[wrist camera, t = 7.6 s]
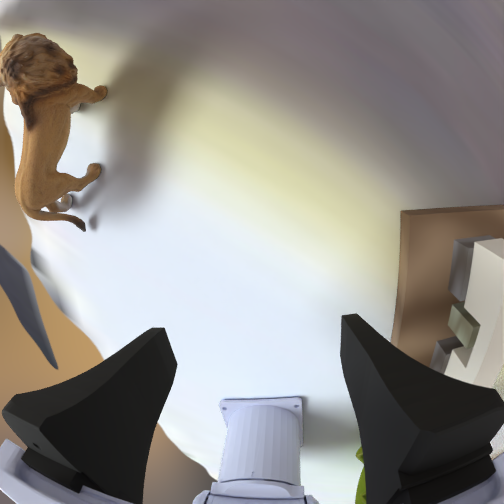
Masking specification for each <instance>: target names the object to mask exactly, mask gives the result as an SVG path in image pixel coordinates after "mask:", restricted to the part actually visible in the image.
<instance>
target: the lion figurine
mask: <svg viewBox="0 0 504 504" xmlns="http://www.w3.org/2000/svg"><path fill="white" fill-rule="evenodd" d="M77 70H78V69H77V68H76V66H75V65H73V58H72V57H71V56H70V55H68V54H67V53H66V52H65V51H64V50H63V49H62V48H60V47H59V45H58V44H57V43H55V42H52V41H51V40H49V39H47V38H46V36H45V35H42V34H40V33H34V34H30V35H26V36H23V35H19V34H16V35H14V36H13V37H12V40H11V41H9V42H8V43H7V44H6V46H5V48H4V49H3V50H2V52H1V53H0V87H1V86H5V87H6V89H7V90H8V91H9V92H10V95H11V97H12V102H13V103H14V104H16V105H19V107H20V109H21V114H22V116H23V117H24V134H23V149H22V156H21V162H20V165H19V169H18V172H17V175H16V179H15V194H16V197H17V200H18V202H19V204H20V205H21V208H22V210H23V211H24V212H25V213H26V214H27V215H28V216H29V217H31V218H33V219H36V220H41V221H58V220H65V221H69V222H72V223H74V224H75V225H76V226H77V227H78V228H80V229H81V230H82V231H83V232H85V231H86V228H85V223H84V222H83V221H82V220H81V219H79V218H78V217H76V216H72V215H68V214H61V213H58V212H66V211H67V210H69V209H70V208H71V205H72V197H71V196H70V195H69V194H66V193H68V192H70V191H76V192H79V191H81V190H82V189H83V188H84V187H86V186H87V185H88V184H89V183H91V182H92V181H94V180H95V179H96V178H97V177H98V176H99V174H100V172H101V167H100V165H99V164H97V163H92V164H90V165H89V166H88V168H87V173H86V175H85V176H84V177H82V178H75V177H73V176H71V175H69V174H67V173H59V172H58V171H57V170H56V168H57V163H58V162H59V160H60V158H61V156H62V154H63V152H64V150H65V147H66V145H67V142H68V137H69V133H70V123H71V114H73V113H74V112H76V111H78V109H79V107H80V103H91V104H93V103H95V102H98V101H101V100H102V99H103V98H104V97H105V96H106V94H107V89H106V87H104V86H101V85H100V86H97V87H95V89H94V91H93V90H92V89H90V88H88V87H87V86H85V85H82V84H78V83H77V79H78V78H77V74H78V73H77ZM63 195H64V196H63ZM61 197H62V199H61V203H60V202H58V201H57V200H58V199H59V198H61ZM43 207H47V208H48V210H49V211H50V212H46V211H40V210H41V208H43Z"/></svg>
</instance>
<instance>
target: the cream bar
mask: <svg viewBox="0 0 504 504" xmlns="http://www.w3.org/2000/svg"><path fill="white" fill-rule="evenodd" d="M464 308H465V309H466V310H467V311H468V312H469V313H470V314H471V315H472V316H473V317H474V318H475V319H476V320H477V321H478V323H479V324H480V325H481V326H480V329H479V332H478V335H477V339H476V342H475V345H474V347H472V348H469V349H466V348H465V347H464V346H462V347H459V348H456V349H453V350H452V353H451V356H450V359H449V362H448V365H447V368H446V371H445V373H444V375H447V376H449V377H452V378H454V379H457V380H460V381H464V382H467V383H470V384H474V385H478V386H483V387H488V388H492V387H493V385H494V383H495V381H496V379H497V377H498V375H499V373H500V371H501V369H502V366H503V364H504V239H502V238H499V239H491V240H484V241H477V242H474V251H473V259H472V266H471V273H470V279H469V284H468V290H467V295H466V300H465V304H464Z"/></svg>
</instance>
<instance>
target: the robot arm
mask: <svg viewBox="0 0 504 504" xmlns="http://www.w3.org/2000/svg"><path fill="white" fill-rule="evenodd" d="M340 357H341V363H342V369H343V374H344V378H345V382H346V385H347V388H348V391H349V395H350V398H351V401H352V404H353V408H354V411H355V414H356V418H357V422H358V426H359V431H360V438H361V445H362V452H363V461H364V470H365V483H366V504H504V452H503V453H502V454H500V455H499V456H497V457H496V458H495V459H493V460H491V457H490V455H489V454H491V453H492V451H493V449H492V446H491V444H490V441H491V440H492V439H493V437H494V436H495V435H496V433H497V432H498V431H499V429H500V428H501V427H502V425H503V423H504V402H503V400H502V398H501V397H500V395H499V394H498V392H497V391H496V390H495V389H492V388H488V387H483V386H478V385H474V384H470V383H467V382H464V381H460V380H457V379H454V378H452V377H449V376H447V375H444V374H442V373H440V372H438V371H435V370H433V369H431V368H429V367H427V366H425V365H423V364H422V363H420V362H418V361H416V360H415V359H413V358H411V357H410V356H408V355H407V354H405V353H404V352H402V351H401V350H400V349H398V348H397V347H395V346H394V345H393V344H391V343H390V342H389V341H388V340H386V339H385V338H384V337H383V336H381V335H380V334H379V333H378V332H377V331H376V330H375V329H373V328H372V327H371V326H370V325H369V324H368V323H367V322H366V321H365V320H363V319H362V318H361V317H360V316H359V315H358V314H349V315H342V322H341V349H340ZM176 369H177V361H176V359H175V356H174V353H173V351H172V348H171V345H170V342H169V339H168V337H167V334H166V331H165V328H151V329H149V330H147V331H146V332H144V333H143V334H141V335H140V336H139V337H137V338H136V339H134V340H133V341H132V342H130V343H129V344H127V345H126V346H125V347H123V348H122V349H121V350H119V351H118V352H116V353H115V354H113V355H112V356H110V357H109V358H107V359H106V360H104V361H103V362H102V363H100V364H98V365H97V366H95V367H93V368H91V369H90V370H88V371H86V372H84V373H82V374H80V375H78V376H76V377H74V378H71V379H69V380H67V381H64V382H62V383H59V384H57V385H54V386H51V387H47V388H44V389H41V390H37V391H32V392H27V393H22V394H16V395H15V396H14V397H13V398H12V399H11V400H10V401H9V402H8V404H7V405H6V406H5V407H4V409H3V410H2V415H3V418H4V419H5V421H6V423H7V424H8V425H9V426H10V428H11V429H12V430H13V431H14V432H15V433H16V435H17V436H18V437H19V438H20V439H21V440H22V441H23V442H24V443H25V444H26V445H27V447H28V448H27V450H26V451H24V450H23V449H22V448H21V447H19V446H17V445H16V444H14V443H13V442H11V441H10V440H8V439H6V440H5V441H4V443H3V444H2V445H1V447H0V490H2V491H3V492H4V493H5V494H6V495H7V496H8V497H10V498H11V499H12V500H13V501H14V502H15V503H17V504H142V502H143V488H144V479H145V472H146V465H147V460H148V455H149V450H150V445H151V442H152V438H153V433H154V430H155V427H156V424H157V422H158V419H159V417H160V414H161V412H162V409H163V407H164V404H165V402H166V400H167V397H168V395H169V392H170V390H171V387H172V384H173V381H174V377H175V373H176ZM219 407H220V410H221V413H222V415H223V418H224V421H225V424H226V426H227V435H226V440H225V445H224V451H223V456H222V461H221V467H220V472H219V477H218V483H217V482H213V483H212V488H211V491H207V490H206V491H203V492H202V493H201V494H199V495H197V496H196V497H195V499H194V501H193V503H192V504H319V502H318V501H317V500H316V499H315V498H314V497H313V496H312V495H304V486H301V481H300V447H302V446H303V413H302V399H301V398H299V397H294V398H280V399H259V400H221V401H220V402H219Z"/></svg>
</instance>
